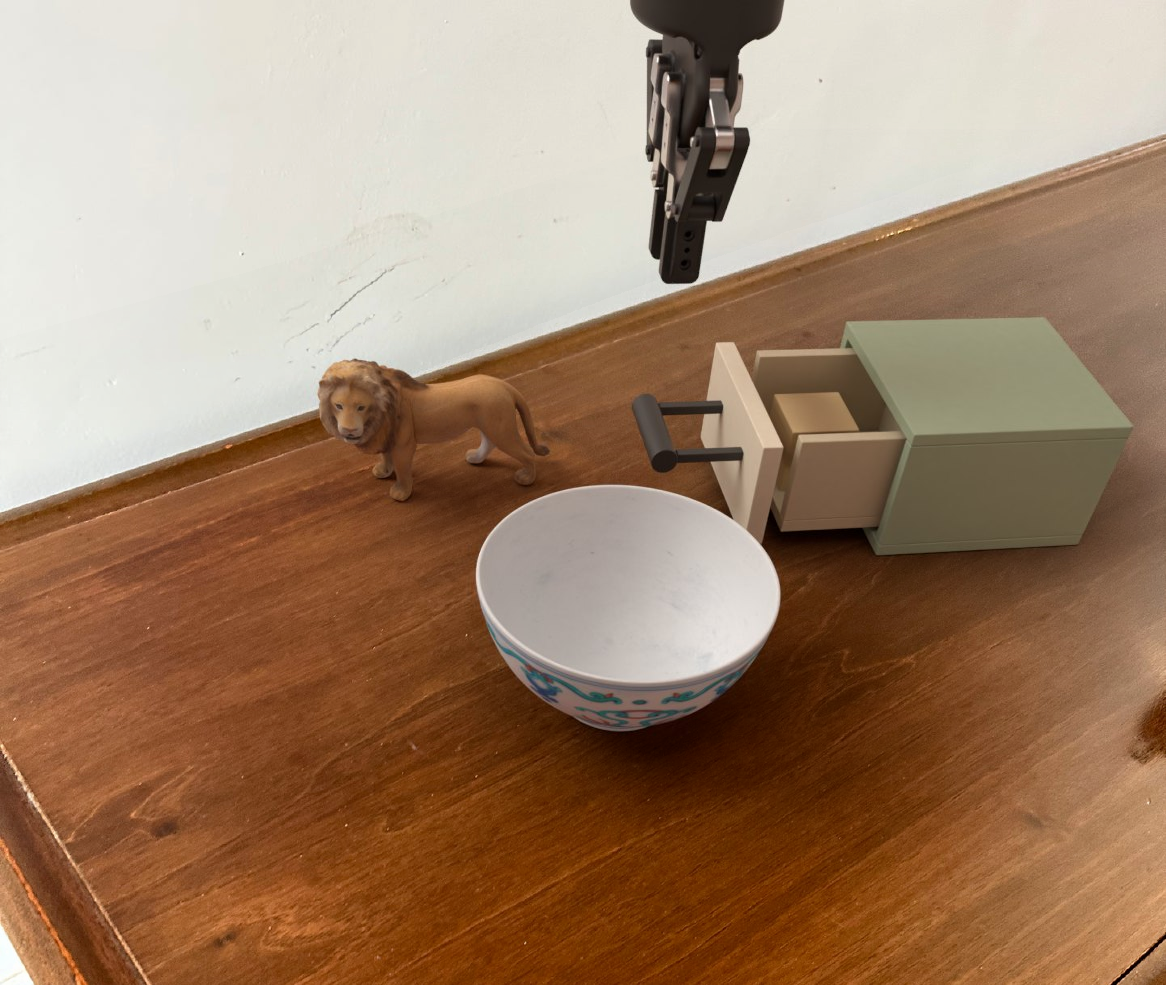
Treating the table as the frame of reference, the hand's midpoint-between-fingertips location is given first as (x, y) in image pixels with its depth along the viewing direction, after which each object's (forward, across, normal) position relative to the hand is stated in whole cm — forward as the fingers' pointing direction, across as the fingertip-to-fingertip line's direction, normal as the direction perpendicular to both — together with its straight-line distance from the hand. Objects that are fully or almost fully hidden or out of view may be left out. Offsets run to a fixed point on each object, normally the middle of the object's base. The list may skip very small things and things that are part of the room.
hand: (672, 267), depth 69 cm
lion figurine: (+13, +2, -14) cm, 19 cm away
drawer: (+12, +5, +7) cm, 15 cm away
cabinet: (+13, +4, +19) cm, 23 cm away
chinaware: (+13, +20, -6) cm, 25 cm away
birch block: (+11, +4, +9) cm, 15 cm away
